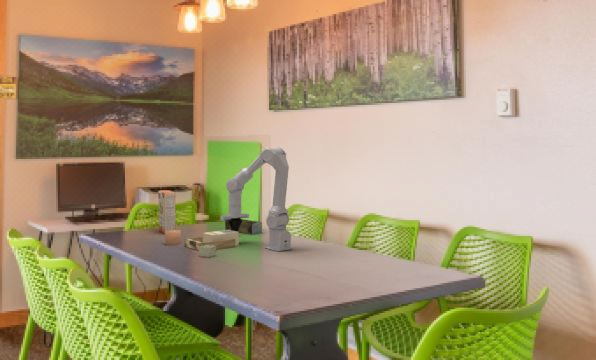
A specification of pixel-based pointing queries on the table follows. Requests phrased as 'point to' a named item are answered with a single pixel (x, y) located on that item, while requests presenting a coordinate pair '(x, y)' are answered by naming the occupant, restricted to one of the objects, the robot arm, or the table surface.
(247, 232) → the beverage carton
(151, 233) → the table surface
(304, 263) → the table surface
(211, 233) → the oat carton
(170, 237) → the block
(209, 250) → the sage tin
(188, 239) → the display bay
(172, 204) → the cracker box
